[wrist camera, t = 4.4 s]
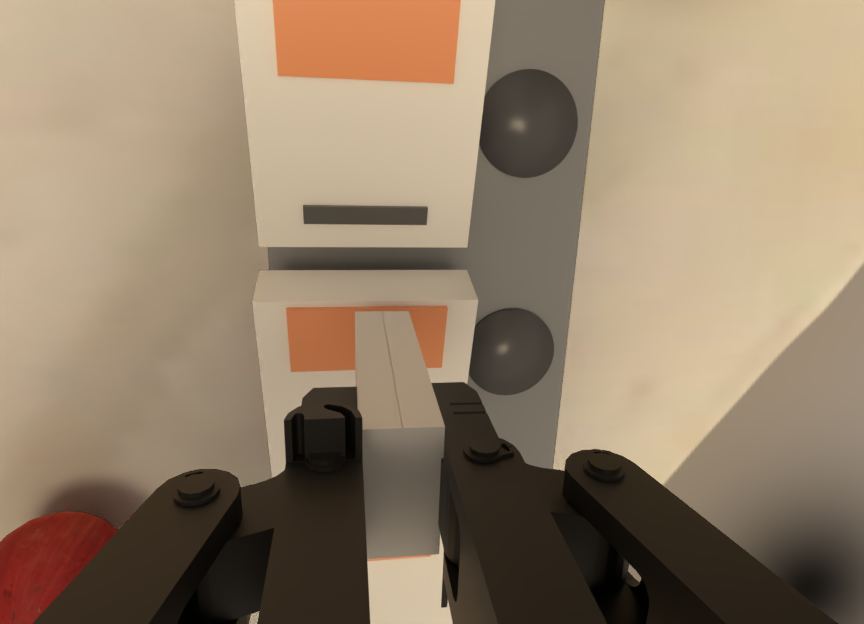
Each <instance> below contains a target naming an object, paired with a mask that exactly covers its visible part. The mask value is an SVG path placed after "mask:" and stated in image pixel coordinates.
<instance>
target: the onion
mask: <svg viewBox="0 0 864 624" xmlns="http://www.w3.org/2000/svg"><path fill="white" fill-rule="evenodd" d="M117 531H118V529H116V528H115V527H114V526H112V525H111V524H110V523H108V522H107V521H106V520H104V519H101V518H98V517H96V516H93V515H90V514H87V513H81V512H69V511H62V512H58V513H54V514H49V515H45V516H42V517H39V518H36V519H33V520H30V521H28V522H27V523H25V524H24V525H22V526H20V527H19V528H17V529H16V530H14V531H13V532H11V533H10V534H8V535H7V536H6V537H5V538H4V539H3V540H2V541H1V542H0V624H32V623H33V622H34V621H35V620H36V619H37V618H38V617H39V616H40V615H41V613H42V612H43V611H44V610H45V609H46V608H47V607H48V606H49V605H50V604H51V603H52V602H53V601H54V599H55V598H56V597H57V596H58V595H59V594H60V593H61V592H62V591H63V590H64V589H65V588H66V586H67V585H68V584H69V583H70V582H71V581H72V580H73V579H74V578H75V577H76V576H77V575H78V574H79V572H80V571H81V570H82V569H83V568H84V567H85V566H86V565H87V564H88V563H89V562H90V561H91V560H92V558H93V557H94V556H95V555H96V554H97V553H98V552H99V551H100V550H101V549H102V548H103V547H104V545H105V544H106V543H107V542H108V541H109V540H110V539H111V538H112V537H113V536H114V535H115V534H116V533H117Z"/></svg>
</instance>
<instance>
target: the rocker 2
mask: <svg viewBox="0 0 864 624" xmlns="http://www.w3.org/2000/svg"><path fill="white" fill-rule="evenodd" d="M252 306H253V314H254V323H255V332H256V341H257V350H258V359H259V367H260V376H261V385H262V394H263V403H264V412H265V421H266V429H267V438H268V447H269V456H270V465H271V474H272V478H273V477H275V476H277V475H278V474H280V473H281V472H283V471H284V470H285V465H286V456H285V436H284V419H285V417H286V416H287V414H288V413H289V412H291V411H292V410H294V409H295V408H297V407H299V406H301V404H302V398H303V397H304V396H305V395H306V394H307V393H308V392H309V391H310V390H311V389H313V388H323V387H356V385H355V312H359V311H409V314H410V317H411V320H412V323H413V327H414V330H415V333H416V336H417V339H418V342H419V346H420V349H421V352H422V355H423V358H424V361H425V365H426V368H427V371H428V374H429V377H430V381H431V383H446V382H464V383H466V384H467V382H468V374H469V367H470V359H471V351H472V344H473V336H474V329H475V321H476V314H477V306H478V298H477V295H476V292H475V290H474V287H473V284H472V282H471V279H470V277H469V274H468V271H467V270H260V271H259V275H258V279H257V283H256V288H255V292H254V296H253V301H252Z"/></svg>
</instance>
